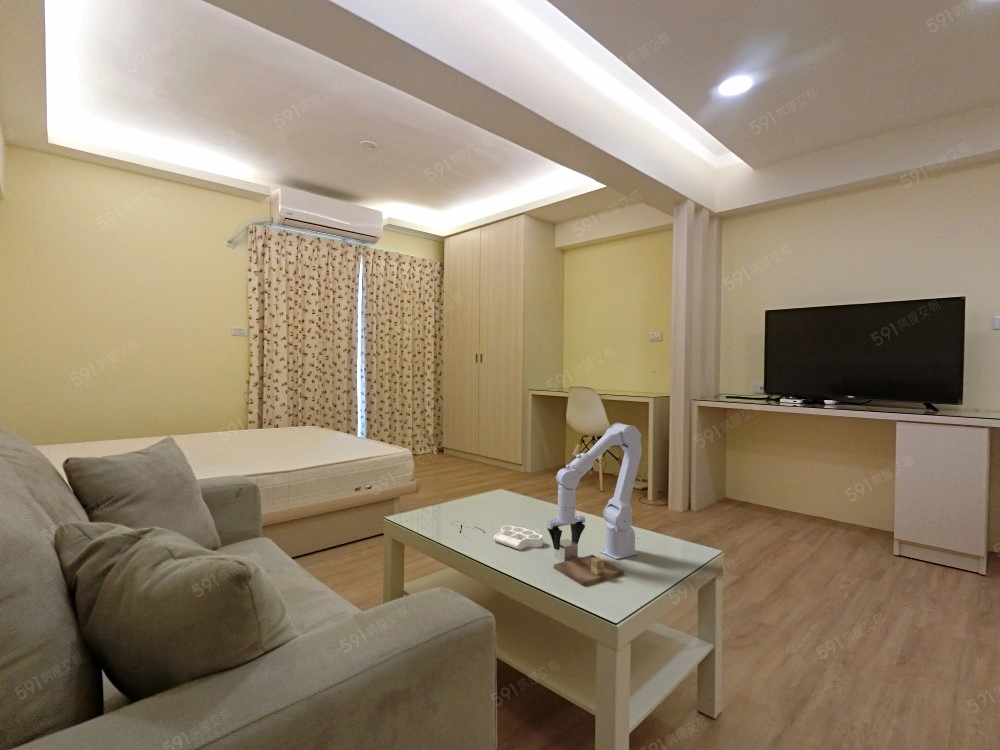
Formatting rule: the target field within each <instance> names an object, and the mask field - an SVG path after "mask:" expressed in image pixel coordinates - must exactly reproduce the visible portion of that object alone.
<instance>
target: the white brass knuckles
mask: <svg viewBox="0 0 1000 750" xmlns="http://www.w3.org/2000/svg"><path fill="white" fill-rule="evenodd" d="M492 540H493V541H494V542H495V543H498V544H502V545H505V546H507V547H510V548H513V549H516V550H518V551H521V550H523V549H525V548H541V547H543V545H544V535H543V534H541V533H540V534H539V533H537V532H536V531H534V530H533V529H527V528H526V527H521V526H519V527H518V526H515V525H514V526H513V525H504V526H501V527H500V531H499V532H498V533H496V534H495V535H494V536H493V537H492Z"/></svg>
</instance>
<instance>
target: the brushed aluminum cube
mask: <svg viewBox="0 0 1000 750" xmlns="http://www.w3.org/2000/svg"><path fill="white" fill-rule="evenodd" d="M578 545H579V543H578V544H577V543H575V542H573V541H572V539H569V538H565V539H560V549H559V550H556V549H554V548H553V549H554V551H553V552H554V555H553V557H554V559H556V560H558V561H559V562H560V563H561V562H565V561H569V560H573V559H577V558H579V557H578V556H579V554H578V553H579V552H578V551H579V546H578Z"/></svg>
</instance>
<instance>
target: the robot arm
mask: <svg viewBox="0 0 1000 750" xmlns="http://www.w3.org/2000/svg"><path fill="white" fill-rule="evenodd" d="M641 439H642V433H641V432H640V430H639V429H638V428H637V426H635V425H629V424H626V423H625V424H624V423H622V422H614V423H613V424H611V427H609V428H607V429H606V431H605V433H604V434H603V435H602V436H601V438H599V439H598V440H597V442H595V444H594V445H593V446H592V447H591V448H590V449H589V450H588V451H587V452H581V453H577V455H575V458H574V459H573V460H572V461H571V462H569V464H566V465H565V467H563V468H561V469H559V470H558V472H557V474H556V476H555V477H554V478H555V481H556V483H557V484H558V485H557V488H558V489H557V516H556V518H553V519H551V520H549V521H546V529H547V531H548V533H549V535H550V537H551V541H552V545H553V549H556V550H559V549H560V540H561V538H562V533H563V530H561V529H560V528H559V527H563V526H569V525H570V531H571V541H573V542H575V543H577V544H578V545H579V542H580V538H581V535H582V533H583V532H584V530H585V528H586V525H585V523H586V516H584V515H576V498H577V497H576V495H577V494H576V489H577V487H578V486H579V484H580V480H581V478H582V477H583V476H584V475H586V473H587V472H589V471H590V470H591V469H592V468H593V467H594V465H595V460H596V459H597V458H598V457H600V456H601V455H602V454H603V453H605V452H606V451H608V450H609V448H611V447H612V446H620V447H621V449H622V451H623V452H624V456H623V458H622V462H621V465H620V470H619V474H618V477H617V482H616V485H615V489H614V494H613V496H612V497H611V498H610V499H609V500H608V501H607V505H606V506H605V508H604V509H603V512H602V514H603V515H602V517H603V519H604V520H605V522H606V523H605V525H606V526H605V527H606V528H605V530H606V535H605V536H606V537H605V539H606V541H605V548H603V549H600V552H601V553H603V554H605V555H606V556H609V557H611V558H612V559H615V560H621V559H624V558H628V557H632V556H635V555H637V554H638V553H637V552H636V533H635V530H634V528H633V527H632V524H633V516H632V515H633V507H632V505H631V499H632V494H633V491H634V490H633V489H634V485H635V483H636V482H635V481H636V479H637V478H636V477H637V474H638V469H639V465H640V462H641V457H642V453H643V448H642V440H641Z"/></svg>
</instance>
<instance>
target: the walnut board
mask: <svg viewBox="0 0 1000 750" xmlns="http://www.w3.org/2000/svg"><path fill="white" fill-rule="evenodd" d="M553 569H555V570H556V571H557V572H559V573H561V574H563V575H564V576H566V577H567V578H568V579H571V580H573V581H574V582H576V583H578V584H580V585H581V586H582V587H585V586H589V585H593V584H595V583H600V582H602V581H607V580H609V579H613V578H616V577H620V576H623V575H624V572H625V571H624V569H621V568H619V567H618V566H615V565H614V564H612V563H610V562H608V561H606V560H604V559H603V558H601V557H600V556H596V555H594V554H589V555H586V556H582V557H578V558H577V559H573V560H569V561H565V562H561V561H560V562H559V563H554V564H553Z"/></svg>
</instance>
